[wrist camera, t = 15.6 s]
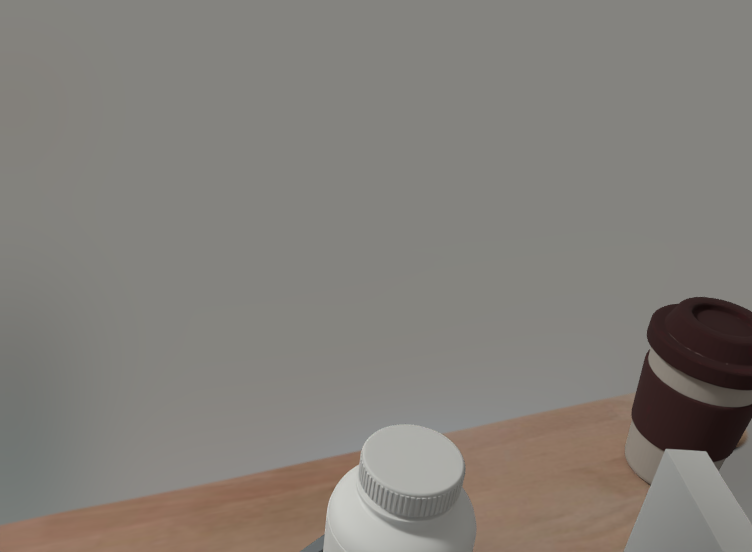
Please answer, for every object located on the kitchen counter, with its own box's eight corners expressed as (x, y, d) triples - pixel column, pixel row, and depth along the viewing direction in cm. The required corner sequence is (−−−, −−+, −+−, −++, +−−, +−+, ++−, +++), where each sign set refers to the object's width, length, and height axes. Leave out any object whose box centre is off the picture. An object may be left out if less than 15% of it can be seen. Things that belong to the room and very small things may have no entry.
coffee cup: (672, 420, 67) (726, 281, 60) (754, 497, 59) (827, 347, 52) (584, 437, 64) (631, 291, 57) (659, 521, 56) (723, 363, 49)
